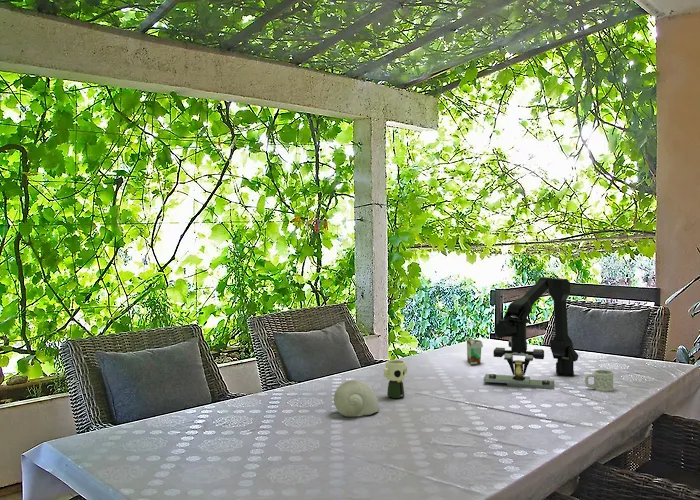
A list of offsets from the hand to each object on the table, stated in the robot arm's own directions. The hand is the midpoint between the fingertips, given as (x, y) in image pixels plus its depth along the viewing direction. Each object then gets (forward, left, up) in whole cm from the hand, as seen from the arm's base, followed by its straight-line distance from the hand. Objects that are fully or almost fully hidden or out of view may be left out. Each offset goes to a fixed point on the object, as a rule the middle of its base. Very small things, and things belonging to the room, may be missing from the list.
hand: (518, 375), depth 255 cm
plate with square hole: (0, 0, -4) cm, 4 cm away
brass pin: (0, 0, -2) cm, 2 cm away
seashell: (+49, +53, -4) cm, 72 cm away
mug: (-29, 0, -4) cm, 29 cm away
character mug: (+41, +31, -4) cm, 52 cm away
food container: (+21, -34, -4) cm, 40 cm away
